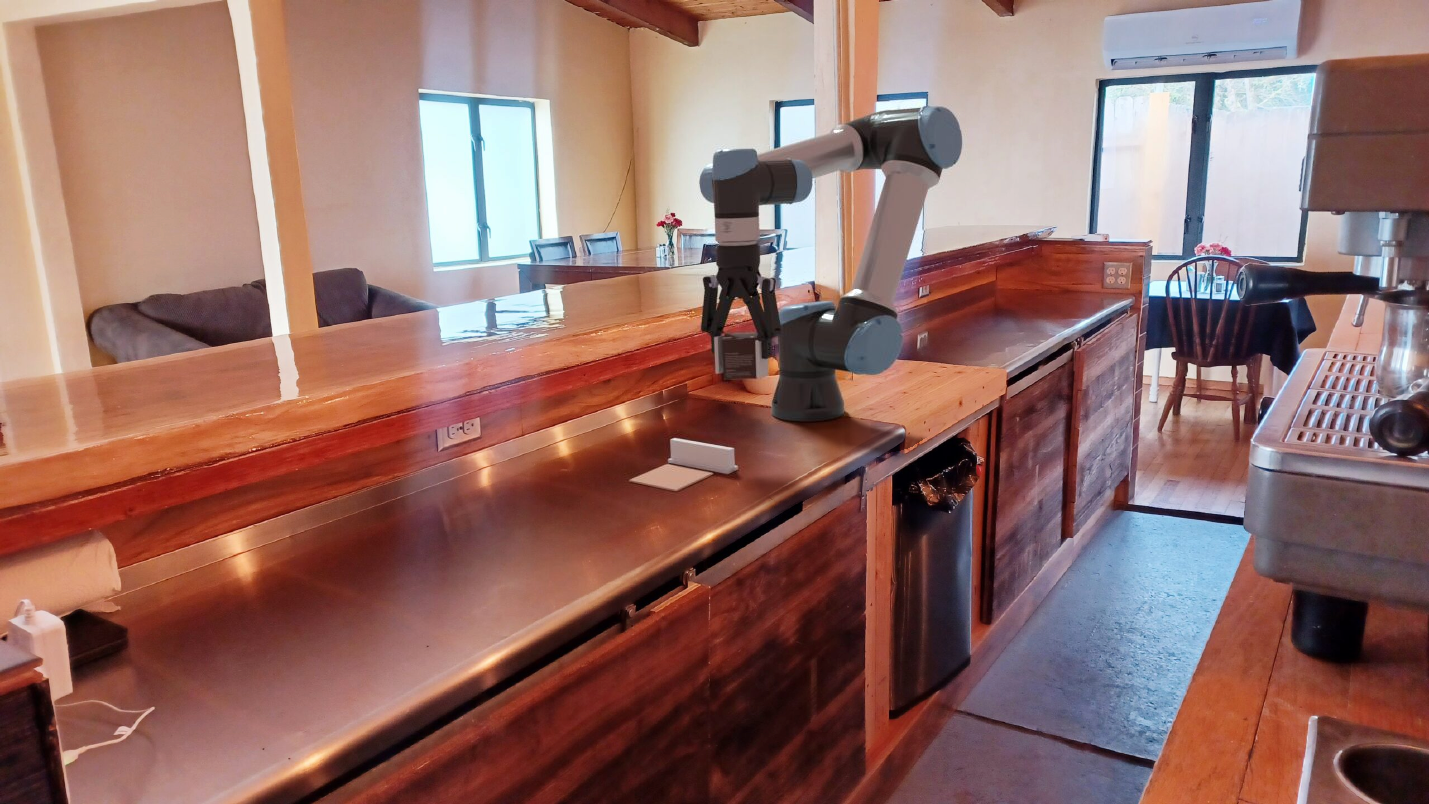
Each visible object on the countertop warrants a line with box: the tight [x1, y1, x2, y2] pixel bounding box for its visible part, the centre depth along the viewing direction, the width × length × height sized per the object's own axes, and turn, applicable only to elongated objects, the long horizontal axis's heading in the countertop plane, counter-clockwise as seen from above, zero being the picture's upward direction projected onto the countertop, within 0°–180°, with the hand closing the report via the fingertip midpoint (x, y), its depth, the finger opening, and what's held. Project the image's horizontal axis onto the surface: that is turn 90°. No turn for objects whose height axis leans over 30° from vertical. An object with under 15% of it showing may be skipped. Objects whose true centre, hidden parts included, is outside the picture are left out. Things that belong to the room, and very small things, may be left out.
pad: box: [628, 463, 714, 492], centre depth 159 cm, size 10×10×1 cm
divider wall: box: [667, 437, 739, 475], centre depth 164 cm, size 3×13×4 cm, turn 54°
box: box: [722, 331, 759, 381], centre depth 164 cm, size 6×6×7 cm
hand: (741, 374), depth 165 cm, fingers closed on box, 8 cm apart
